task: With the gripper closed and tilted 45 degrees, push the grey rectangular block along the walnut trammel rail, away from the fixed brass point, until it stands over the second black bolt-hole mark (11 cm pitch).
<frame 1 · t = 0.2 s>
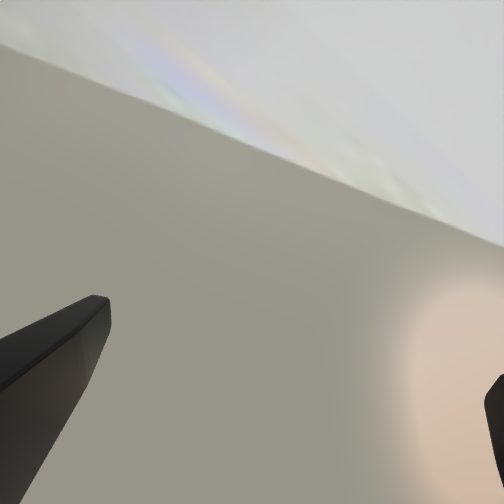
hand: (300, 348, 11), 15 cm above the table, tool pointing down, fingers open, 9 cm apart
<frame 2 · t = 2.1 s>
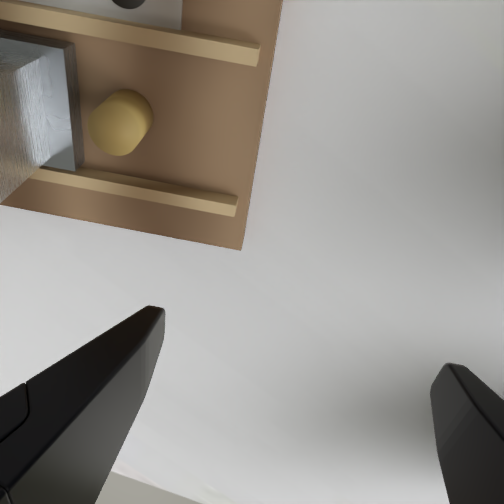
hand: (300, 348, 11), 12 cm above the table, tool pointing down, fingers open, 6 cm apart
trammel board: (25, 84, 20), on the table
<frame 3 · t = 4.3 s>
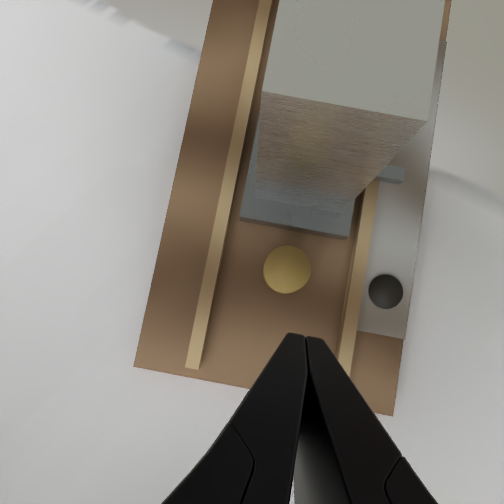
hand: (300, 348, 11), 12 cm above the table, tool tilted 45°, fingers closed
trammel board: (299, 177, 23), on the table
grey rectangular block: (345, 127, 17), point 7 cm above the table, slide at 0.0 cm
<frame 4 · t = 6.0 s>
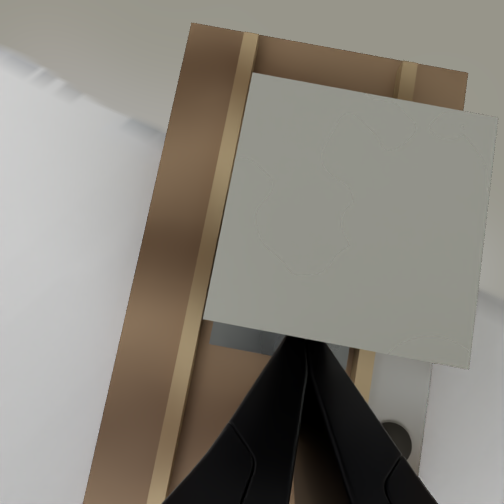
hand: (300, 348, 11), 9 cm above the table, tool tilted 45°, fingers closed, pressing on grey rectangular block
trammel board: (284, 290, 19), on the table
grey rectangular block: (340, 265, 13), point 7 cm above the table, slide at 0.5 cm, touching gripper
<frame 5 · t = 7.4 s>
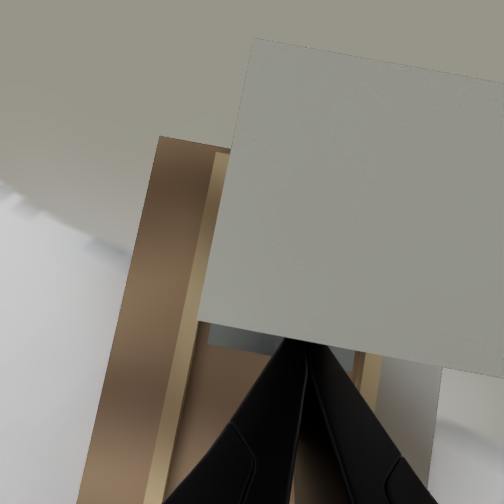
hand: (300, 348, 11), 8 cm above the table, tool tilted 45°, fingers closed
trammel board: (260, 434, 18), on the table
grey rectangular block: (348, 260, 12), point 7 cm above the table, slide at 6.1 cm
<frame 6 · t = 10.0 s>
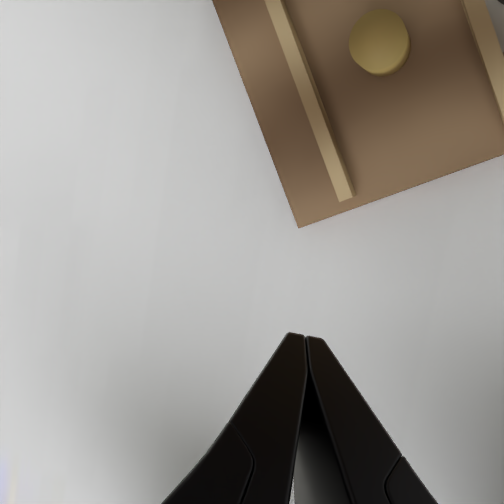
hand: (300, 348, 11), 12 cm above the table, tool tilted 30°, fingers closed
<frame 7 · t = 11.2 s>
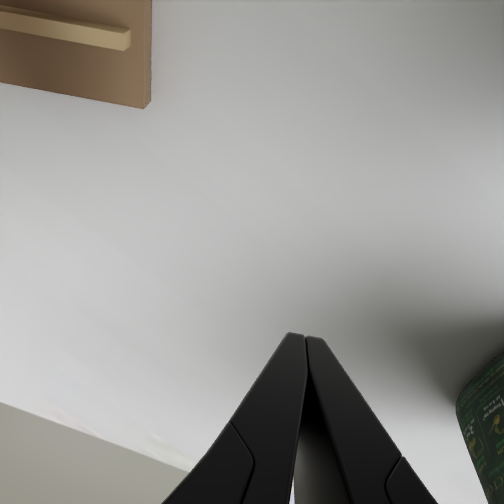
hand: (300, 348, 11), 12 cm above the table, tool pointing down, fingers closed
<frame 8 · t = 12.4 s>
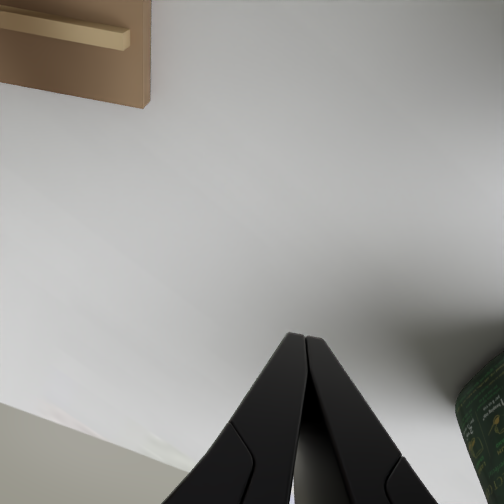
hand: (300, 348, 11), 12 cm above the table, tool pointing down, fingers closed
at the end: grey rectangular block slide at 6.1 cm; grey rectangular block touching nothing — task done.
